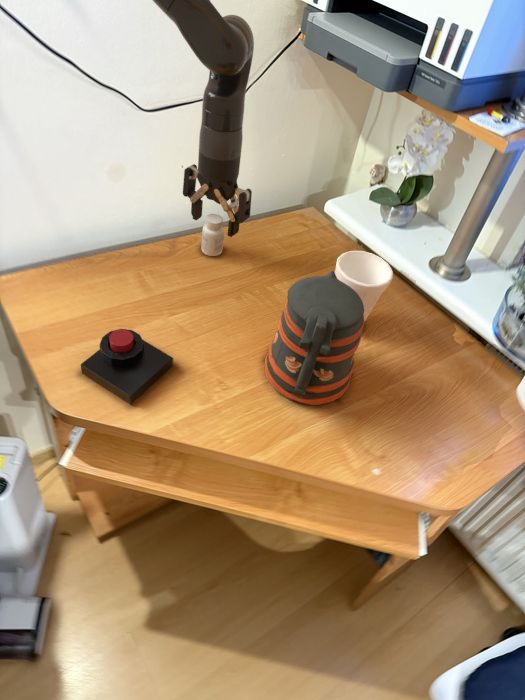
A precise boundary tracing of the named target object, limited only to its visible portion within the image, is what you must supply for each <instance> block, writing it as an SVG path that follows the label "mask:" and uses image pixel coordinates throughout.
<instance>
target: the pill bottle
mask: <svg viewBox="0 0 525 700" xmlns="http://www.w3.org/2000/svg"><path fill="white" fill-rule="evenodd" d="M223 225H224V218H223V217H222V216H221V215H220V214H218V213H209V214H207V215H206V216H205V221H204V225H203V227H202V229H201V230H202V231H201V232H202V233H201V246H200V248H201V249H200V250H201V252H202V253H203V255H205V256H208V257H218V256H220V255H221V254H222V252H223V248H224V240H225V239H224V238H225V229H224V226H223Z"/></svg>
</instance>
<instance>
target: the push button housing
mask: <svg viewBox="0 0 525 700" xmlns="http://www.w3.org/2000/svg"><path fill="white" fill-rule="evenodd" d="M121 329H123V330H127V331H130V332H131V333H132V335H133V341H134V346H133V348H132V350H131V351H129V352H127V353H123V354H121V353H116V352H114V351H112V349H111V348H110V341H109V337H110V335H111V333H112V332H114V331H116V330H121ZM173 366H174V358H173V356H171V355H169V354H167V353H166V352H164V351H163V350H161V349H160V348H158V347H156V346H154V345H152V344H151V343H149V342H147V341H146V340H144V339H143V338H142V336H141V335H140V333H138V332H136V331H134V330H133V329H127V328H119V329H114V330H110V331H108V332H107V333H106V334H104V335H103V336H102V337H101V340H100V342H99V349H98V350H97V351H96V352H95V353H93V354H92V355H91V356H90V357H87V358H86V359H85V360H84V361H83V362H81V363H80V369H81V374H82V375H83V376H85V377H87V378H88V379H90V380H91V381H93V382H95V383H96V384H97V385H99V386H100V387H102V388H104V389H105V390H107V391H108V392H110V393H111V394H113V395H114V396H116V397H118V398H119V399H121V400H122V401H124V402H125V403H127V404H129V406H131V405H133V404H134V403H135V402H136V401H137V400H138V399H139V398H140V397H142V395H144V394H145V393H146V392H147V391H148V390H149V389H150V388H151V387H152V386H153V385H155V384H156V383H157V382H158V381H159V380H160V379H161V378H162V377H163V376H165V374H166V373H168V372H169V371H170V370H171V369H172V368H173Z"/></svg>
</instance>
